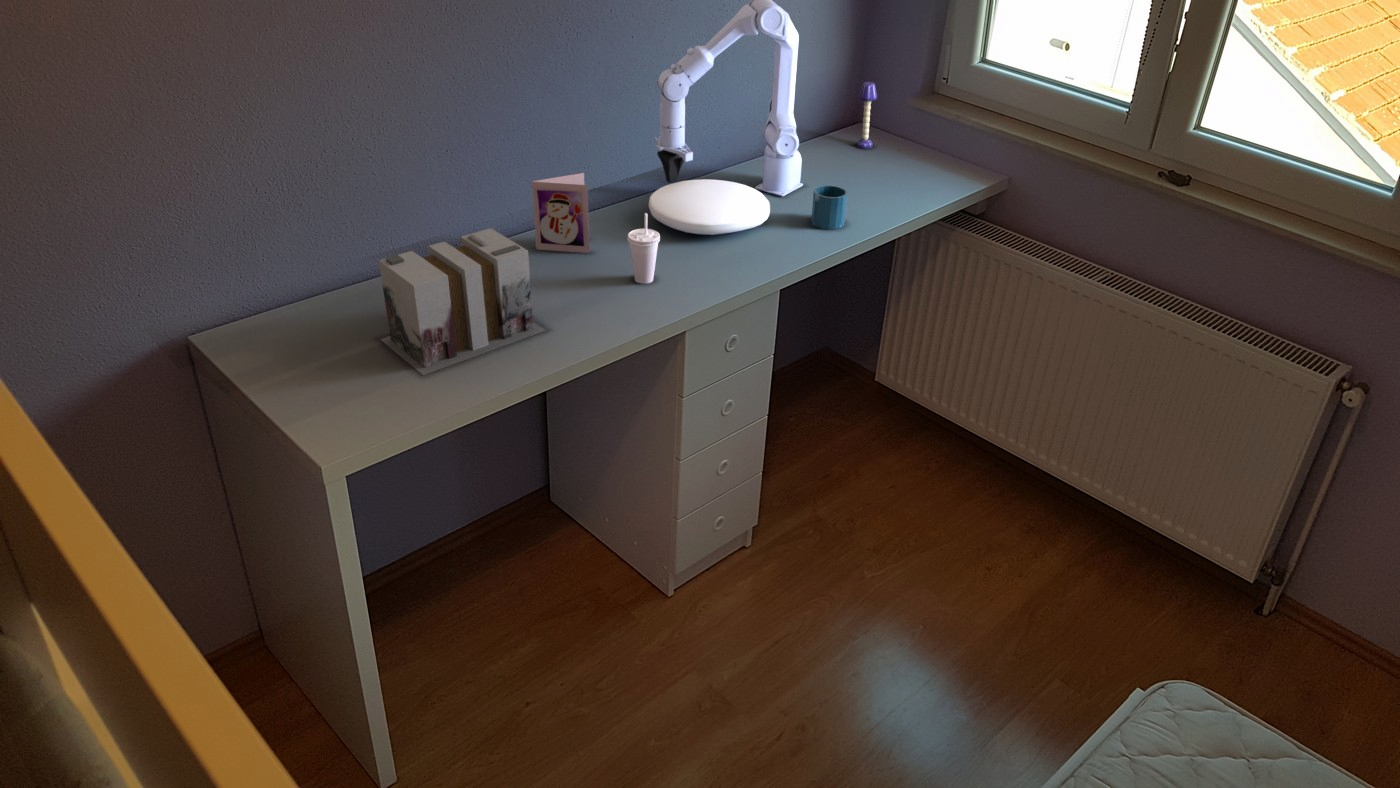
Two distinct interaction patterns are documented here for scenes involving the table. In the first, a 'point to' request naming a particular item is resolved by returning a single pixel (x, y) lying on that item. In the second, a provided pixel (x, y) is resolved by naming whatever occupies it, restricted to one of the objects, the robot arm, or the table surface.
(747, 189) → the white round cushion
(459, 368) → the table surface
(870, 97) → the toy lamp
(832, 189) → the teacup
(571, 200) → the greeting card
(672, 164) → the robot arm
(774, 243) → the table surface
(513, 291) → the model building
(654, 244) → the smoothie
